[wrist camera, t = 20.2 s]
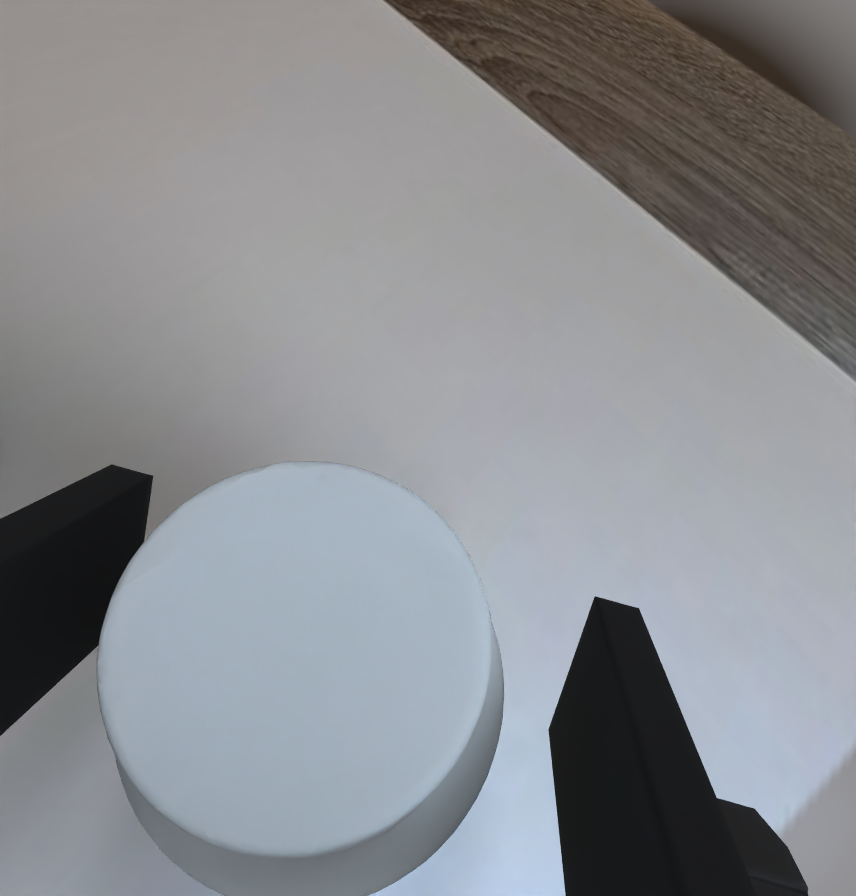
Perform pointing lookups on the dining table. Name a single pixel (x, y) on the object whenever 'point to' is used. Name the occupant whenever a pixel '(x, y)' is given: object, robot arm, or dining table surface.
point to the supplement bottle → (301, 682)
